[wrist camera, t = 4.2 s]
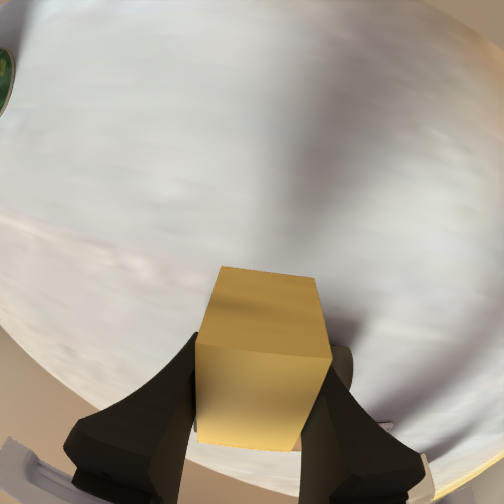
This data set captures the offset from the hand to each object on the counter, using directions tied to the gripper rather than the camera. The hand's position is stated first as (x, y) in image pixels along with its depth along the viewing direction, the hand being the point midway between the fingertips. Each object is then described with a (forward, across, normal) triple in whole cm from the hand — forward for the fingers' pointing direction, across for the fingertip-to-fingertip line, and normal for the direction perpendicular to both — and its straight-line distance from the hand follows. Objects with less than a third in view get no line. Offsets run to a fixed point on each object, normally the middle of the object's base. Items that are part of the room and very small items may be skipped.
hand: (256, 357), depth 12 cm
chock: (+2, 0, 0) cm, 2 cm away
